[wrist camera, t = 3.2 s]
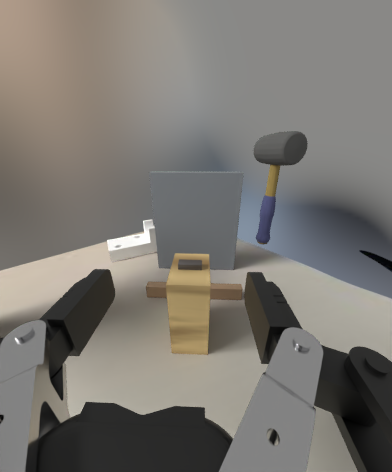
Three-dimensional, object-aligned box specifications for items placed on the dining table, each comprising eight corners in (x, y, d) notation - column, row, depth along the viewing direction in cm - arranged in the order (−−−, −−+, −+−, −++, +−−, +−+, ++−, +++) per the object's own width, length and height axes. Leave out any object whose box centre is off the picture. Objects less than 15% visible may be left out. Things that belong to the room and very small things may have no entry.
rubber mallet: (286, 250, 52) (314, 129, 39) (263, 254, 50) (285, 128, 38) (261, 233, 63) (277, 134, 50) (241, 236, 61) (253, 134, 48)
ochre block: (207, 354, 25) (210, 280, 20) (171, 353, 25) (165, 278, 20) (207, 313, 32) (209, 249, 26) (178, 312, 32) (174, 248, 26)
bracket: (154, 242, 58) (151, 219, 55) (160, 251, 52) (158, 227, 49) (109, 251, 52) (104, 226, 49) (111, 263, 46) (105, 236, 43)
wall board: (241, 299, 34) (257, 179, 25) (147, 297, 35) (130, 179, 26) (232, 265, 45) (241, 171, 36) (160, 263, 46) (151, 171, 37)
